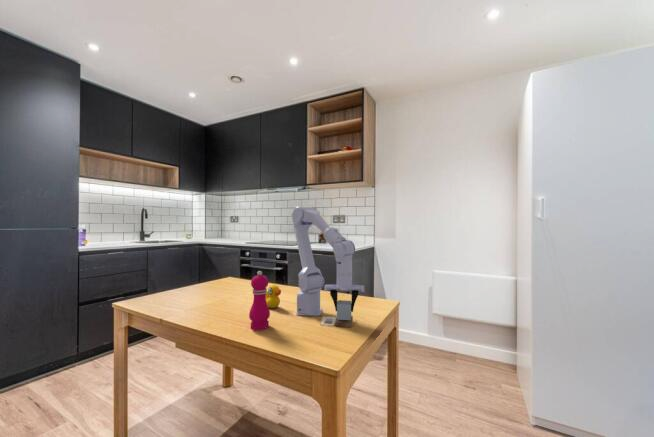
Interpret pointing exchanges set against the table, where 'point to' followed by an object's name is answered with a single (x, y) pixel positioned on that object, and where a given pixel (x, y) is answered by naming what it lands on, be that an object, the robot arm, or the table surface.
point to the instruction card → (328, 321)
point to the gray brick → (343, 310)
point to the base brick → (344, 323)
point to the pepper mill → (259, 303)
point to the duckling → (273, 296)
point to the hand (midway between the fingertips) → (344, 310)
